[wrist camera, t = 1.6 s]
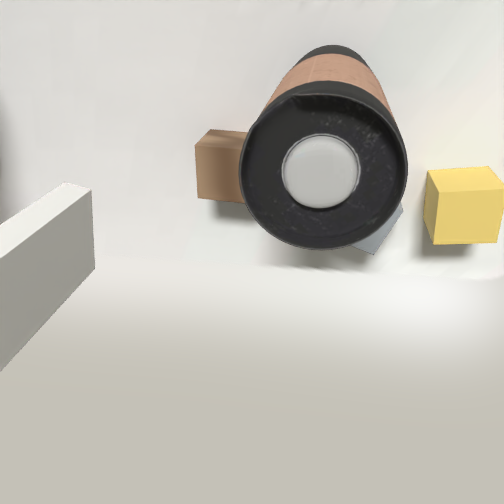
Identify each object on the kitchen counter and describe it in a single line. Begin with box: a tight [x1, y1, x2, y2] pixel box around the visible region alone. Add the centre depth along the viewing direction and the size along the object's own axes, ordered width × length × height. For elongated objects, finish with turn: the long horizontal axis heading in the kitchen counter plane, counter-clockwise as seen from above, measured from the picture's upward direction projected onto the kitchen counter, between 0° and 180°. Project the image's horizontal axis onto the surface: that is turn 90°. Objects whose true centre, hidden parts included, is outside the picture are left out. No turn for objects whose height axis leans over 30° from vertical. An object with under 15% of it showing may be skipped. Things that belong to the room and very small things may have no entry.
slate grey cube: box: [351, 202, 403, 255], centre depth 36 cm, size 5×5×5 cm
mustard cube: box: [423, 166, 504, 245], centre depth 34 cm, size 5×5×5 cm
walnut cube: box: [195, 129, 248, 203], centre depth 36 cm, size 5×5×5 cm
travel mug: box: [238, 45, 408, 250], centre depth 25 cm, size 8×8×20 cm
